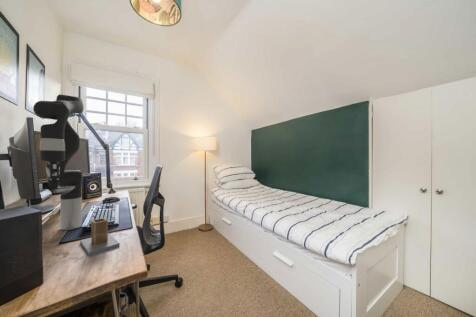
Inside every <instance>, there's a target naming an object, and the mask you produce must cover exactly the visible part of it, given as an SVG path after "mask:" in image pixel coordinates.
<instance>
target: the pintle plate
mask: <svg viewBox="0 0 476 317" xmlns="http://www.w3.org/2000/svg"><path fill="white" fill-rule="evenodd" d="M80 246H81V247H82V248H83V249H84V251H85V253H86V254H87V255H88V257H91V256H94V255H95V256H96V255H98V254H100V253H104V252H106V251H110V250H112V249H116V248H119V247H120V246H121V245H120V242H119V241H118V240H116V238H115V237H113V236H112V235H111V234H110V233H109V232H108V242H104V243H101V244H98V245H94V244H93V243H92V242H91V237H88V238H84V239H81V240H80Z"/></svg>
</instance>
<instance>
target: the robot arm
mask: <svg viewBox="0 0 476 317" xmlns="http://www.w3.org/2000/svg"><path fill="white" fill-rule="evenodd" d="M84 108H85V105H84V100H83V99H82V98H81V97H79V96H73V95H66V94H58V95H57V96H56V99H55V100H52V101H51V100H39V101H37V102H35V104H33V112H34V114H35V115H36V116H37V117H39V118H41V119H44V120H45V119H47V120H56V121H55V122H53V123H48V124H47V123H46V124H42V125H40V139H39V162H40V161H41V162H47V164H46V165H45V170H46V171H45V172H46V177H47V186H48V188H49V189H50V190H58V189H59V188H63V187H64V188H65V187H74V188H72V189H70V190H68V191H65V192H62V193H60V196H59V197H60V198H59V199H60V202H59V203H60V214H59V215H60V218H59V219H60V222H59V223H60V231H70V230H74V229H78V228H80V227H82V226H83V193H82V192H83V190H82V188H83V177H84V176H83V172H82V170H80V169H74V170H73V169H71V170H69V169H68V170H66V167H67V165H68V163H69V162H70V160H71V159H72V158H73V157H74V156H75V155H76V154H77V152H78V151H79V149H80V147H81V145H80V144H81V143H80V136H79V133H78V132H77V131H76V129H75V128H74V127H73V125H72V124H71V122H69V117H70V114H81V113H83V112H84Z"/></svg>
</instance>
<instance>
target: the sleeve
mask: <svg viewBox="0 0 476 317" xmlns="http://www.w3.org/2000/svg"><path fill="white" fill-rule="evenodd" d="M108 222H109V220H108V219H107V218H105V217H102V218H98V219H97V218H96V219H93V220H91V226H90V227H91V231H90V232H91V237H90V238H91V242H92V243H93V244H94V245H98V244H101V243H104V242H108V233H109V231H108V230H109V228H108V226H109V225H108V224H109V223H108Z"/></svg>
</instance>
